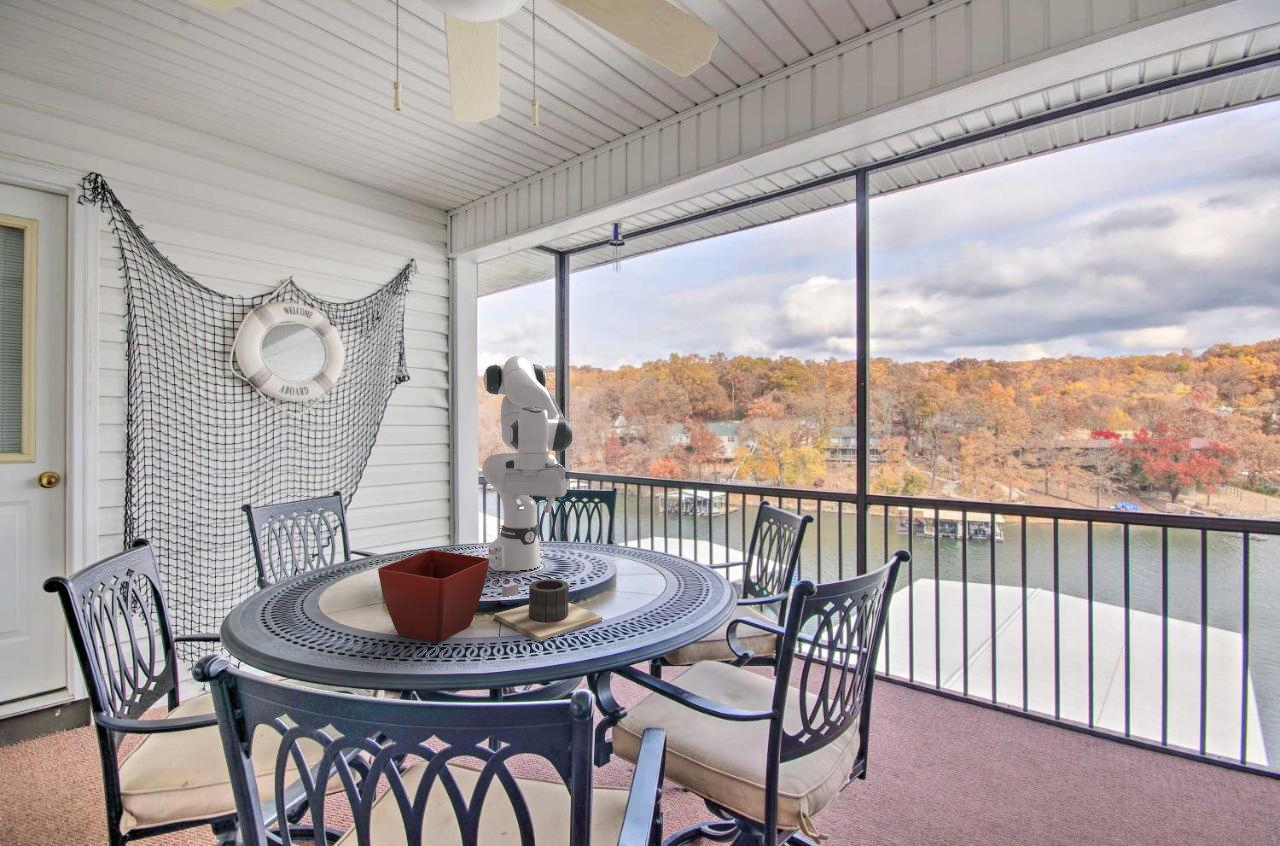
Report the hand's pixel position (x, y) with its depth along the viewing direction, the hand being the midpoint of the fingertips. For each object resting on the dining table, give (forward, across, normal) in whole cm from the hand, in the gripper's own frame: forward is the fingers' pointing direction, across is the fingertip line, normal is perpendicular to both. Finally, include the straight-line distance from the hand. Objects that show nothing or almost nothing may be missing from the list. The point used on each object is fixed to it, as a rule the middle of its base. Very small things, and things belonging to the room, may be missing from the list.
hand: (533, 511), depth 167 cm
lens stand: (+27, -11, +10) cm, 30 cm away
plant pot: (+26, +10, +28) cm, 40 cm away
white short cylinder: (+26, +6, +3) cm, 27 cm away
